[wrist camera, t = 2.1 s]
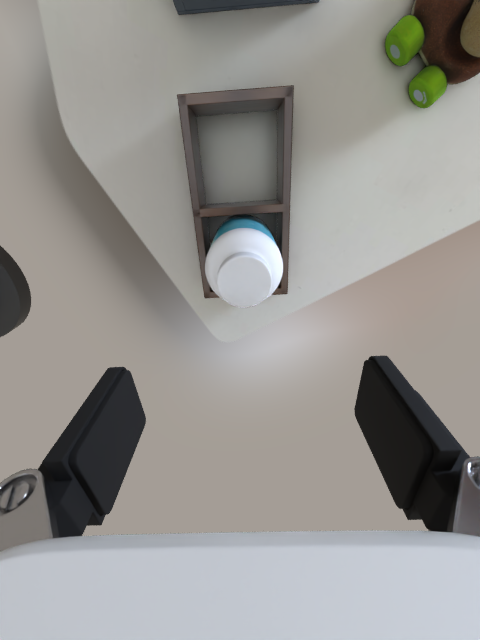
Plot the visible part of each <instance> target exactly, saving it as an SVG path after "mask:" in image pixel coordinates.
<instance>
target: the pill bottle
mask: <svg viewBox="0 0 480 640" xmlns="http://www.w3.org/2000/svg"><path fill="white" fill-rule="evenodd" d="M205 273H206V277H207V280H208V283H209V285H210V287H211V288H212V290H213V291H214V292H215V293H216V294H217V295H218V296H219V297H220V298H221V299H223V300H225V301H226V302H228V303H229V304H231V305H233V306H236V307H240V308H248V307H253V306H255V305H258V304H259V303H261V302H262V301H263V300H265V299H267V298H268V297H269V296H270V295H271V294H272V293H273V292H274V291H275V290H276V288H277V287H278V285H279V283H280V281H281V278H282V274H283V261H282V257H281V253H280V251H279V249H278V247H277V244H276V242H275V240H274V238H273V236H272V234H271V232H270V230H269V228H268V227H267V225H266V224H265V223H264V222H263V221H262V220H260V219H259V218H257V217H254V216H252V215H246V214H245V215H235V216H233V217H230V218H229V219H227V220H226V221H224V222H223V223H222V224H221V226H220V227H219V228H218V230H217V232H216V234H215V237H214V239H213V242H212V244H211V247H210V249H209V251H208V254H207V257H206V261H205Z"/></svg>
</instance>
